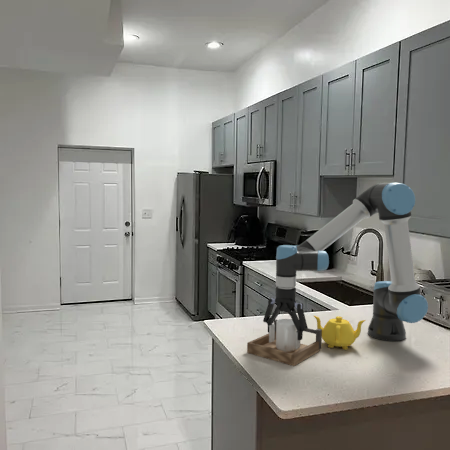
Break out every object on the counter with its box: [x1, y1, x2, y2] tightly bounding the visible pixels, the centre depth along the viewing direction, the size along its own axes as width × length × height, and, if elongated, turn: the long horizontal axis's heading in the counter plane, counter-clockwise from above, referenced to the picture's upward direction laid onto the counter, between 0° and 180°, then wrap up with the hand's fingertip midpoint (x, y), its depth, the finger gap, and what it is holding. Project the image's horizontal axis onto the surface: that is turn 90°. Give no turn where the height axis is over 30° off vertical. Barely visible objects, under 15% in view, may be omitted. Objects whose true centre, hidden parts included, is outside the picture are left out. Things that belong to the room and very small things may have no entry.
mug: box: [276, 318, 297, 352], centre depth 172 cm, size 12×8×10 cm
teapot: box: [313, 315, 366, 351], centre depth 180 cm, size 20×15×12 cm
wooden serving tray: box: [246, 318, 323, 367], centre depth 173 cm, size 20×20×8 cm
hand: (284, 344), depth 173 cm, fingers open, 10 cm apart
